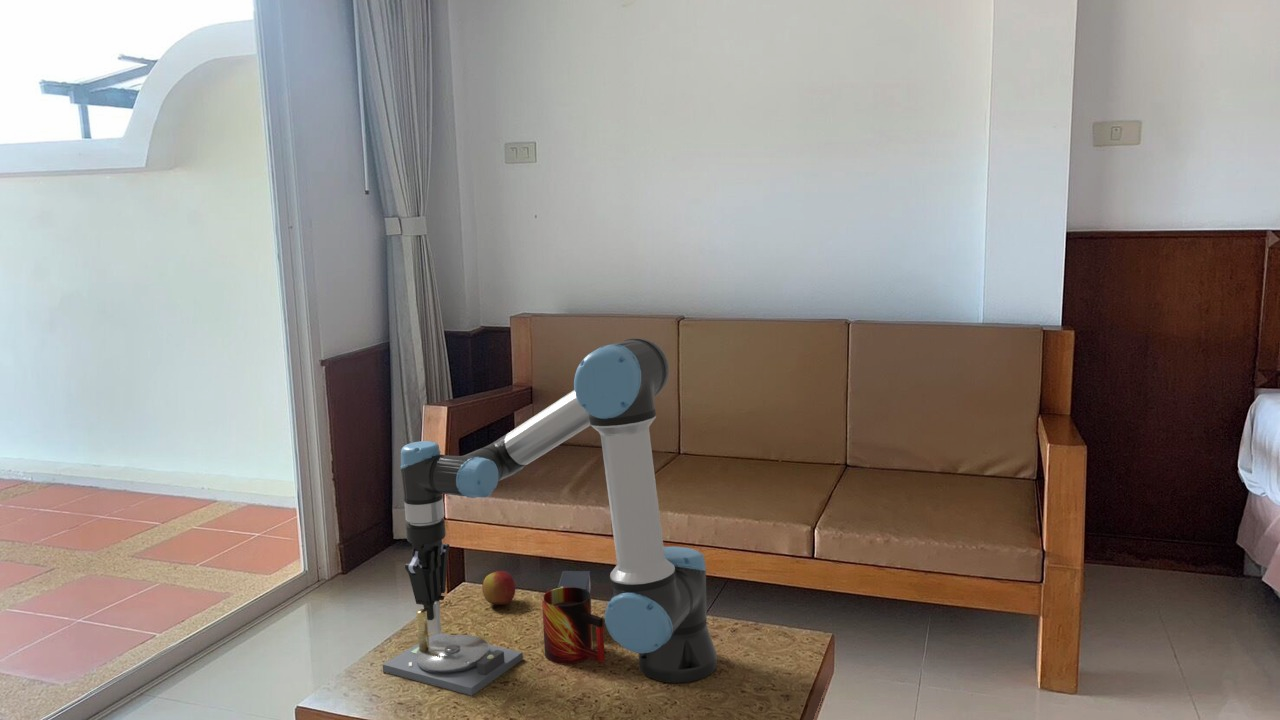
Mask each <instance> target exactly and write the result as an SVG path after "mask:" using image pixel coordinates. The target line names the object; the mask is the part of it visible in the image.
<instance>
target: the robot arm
mask: <svg viewBox="0 0 1280 720" xmlns="http://www.w3.org/2000/svg"><path fill="white" fill-rule="evenodd" d="M669 377H670V364H669V359H668V357H667V355H666V353H665V351H664V350H663V349H662V348H661V347H660V346H659V344H658V343H655V342H654V341H651V340H649V339H646V338H641V337H634V338H629V339H625V340H623V341H620V342H619V341H618V342H615V343H612V344H606V345H602V346H600V347H598V348H597V349H595V350H593V351H592V352H590V353H588V354H587V355H586V356H585V357H584V358H583V359H582V360H581V361H580V363H579V365H578V366H577V368H576V371H575V374H574V379H573V390H572V391H570V392H568V393H566V394H565V395H564V396H563V397H561V398H559V399H558V400H557V401H555V402H554V403H552V404H550V405H548V407H546V408H544V409H543V410H541V411H540V412H538V413H537V414H535V415H533V416H532V417H530V418H529V419H527V420H526V421H524V422H523V423H521V424H520V425H518V426H517V427H515V428H514V429H512V430H510V432H507V433H506V434H504V435H503V436H501V437H500V438H498V439H497V440H495V441H493V442H492V443H490V444H488V445H486V446H484V447H481V448H479V449H475V450H474V451H472V452H469V453H467V454H464V455H446V454H441V450H440V446H439V444H438V442H434V441H429V440H424V441H423V440H422V441H415V442H414V441H413V442H410V443H407V444H405V445H404V446H402V448H400V449H401V450H400V468H399V469H400V471H401V478H402V479H401V480H402V487H403V502H404V505H403V506H404V515H405V521H406V523H405V531H406V532H405V533H406V540H407V542H408V543H410V544H411V546H412V551H411V556H412V558H411V561H410V562H409V563H408V562H406V563H405V567H404V569H405V570H406V573H408V577H409V580H410V584H411V588H412V592H413V596H414V600H415V604H417V605H421V606H423V609H426V610H427V622H428V634H432V635H434V634H439V633H442V622H441V621H442V620H441V605H440V604H441V603H440V602H441V601H444V600H445V595H443V594H445V593H446V592H447V591H446V589H447V571H448V556H449V550H450V544H449V543H443V539H445V537H446V535H447V534H446V522H445V521H446V520H445V519H444V517H445V505H444V495H448V496H449V495H450V496H459V497H466V498H469V499H475V498H488V497H490V496H491V495H492V494H493V493H494V490H496V489H497V486H498V483H499V481H502V480H504V479H507V478H509V477H513V476H514V475H516V474H517V473H519V472H520V471H521V470H523V469H524V467H526V466H527V465H529V464H531V463H532V462H534V461H535V460H537V459H538V458H540V457H542V456H544V455H545V454H547V453H548V452H550V451H551V450H553V449H554V448H556V447H558V446H559V445H561V444H562V443H565V442H566V441H567V440H569V439H571V438H572V437H574V436H576V435H577V434H579V433H580V432H583V430H586V429H587V428H589V427H592V428H593V429H594V430H595V431H597V432H598V434H599V435H600V440H601V448H602V449H601V450H602V457H603V465H604V474H605V481H606V488H607V497H608V504H609V510H610V511H609V513H610V519H611V526H612V528H611V529H612V534H613V542H614V549H615V558H616V565H615V567H614V568H613V569H612V570H611V572H610V573H609V574H610V575H609V578H610V585H611V592H612V597H611V599H610V600H609V602H608V603H607V605H606V608H605V611H604V623H605V627H606V629H607V631H608V634H609V636H610V637H611V638H612V640H613V641H615V642H616V643H618V645H621V647H622V648H623V649H625V650H627V651H629V652H632V653H635V654H638V668H639V669H640V670H639V671H641V673H643V674H644V675H645V676H647V677H648V678H650V679H653V680H655V681H659V682H664V683H674V684H679V683H681V684H682V683H691V682H695V681H700V680H702V679H705V678H707V677H708V676H710V675H711V674H712V673H713V672H714V671H715V670H716V669H717V665H718V664H717V663H718V659H717V656H718V655H717V650H716V648H715V645H714V642H713V639H712V637H711V634H710V632H709V628H708V622H707V616H708V615H707V614H708V612H707V573H706V572H707V567H706V560H705V559H706V558H705V556H704V554H703V553H702V552H700V551H699V550H696V549H693V548H689V547H684V546H683V547H682V546H664V540H663V531H662V524H661V517H660V507H659V499H658V492H657V484H656V483H657V482H656V476H655V468H654V467H655V465H654V458H653V452H652V451H653V450H652V444H651V443H652V442H651V433H650V426H651V425H652V424H653V422H654V421H655V419H656V418H657V414H656V406H655V405H656V404H655V403H656V402H655V397H656V396H658V395H659V394H660V393H661V392H662V391H663V390H664V388H666V385H667V383H668V381H669Z"/></svg>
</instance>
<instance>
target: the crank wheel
mask: <svg viewBox="0 0 1280 720" xmlns="http://www.w3.org/2000/svg"><path fill="white" fill-rule="evenodd" d="M415 615H416V624H417V625H416V626H417V641H418V643H419V649H418V651H417V653H416V660H417V664H418V666H419V667H421V668H422V669H424V670H427V671H430V672H436V673H450V672H458V671H463V670H466V669H469V668H472V667H475V666H477V662H479V661H480V660H482V659H483V658H485V657H486V656H488V655H489V646H488V644H489V643H488V642H487V641H486V640H485V639H483V638H482V637H479V636H476V635H473V634H452V635H451V634H449V635H450V636H445V637H440V638H437V639H434V640H432V641H429V637H430V636H429V633H428V622H427V610H426V609H424V608H420V609H417V610H416V613H415ZM418 643H417V644H418Z"/></svg>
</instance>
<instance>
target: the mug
mask: <svg viewBox="0 0 1280 720" xmlns="http://www.w3.org/2000/svg"><path fill="white" fill-rule="evenodd" d="M541 603H542V624H543V643H544V644H543V645H544V656H545V658H546V660H548V661H549V662H551V663H553V664H559V665H573V664H576V663H577V664H578V663H581V662H584V661H585V660H587V659H592V660H594V661H596V662H598V663H603V662H605V661H606V658H605V655H606V653H605V642H604V641H605V639H604V618H603V617H601V616H597V615H595V614H592V599H591V600H590V593H589V592H588V591H587V590H585V589H582V588H576V587H563V588H558V587H557V588H554V589H550V590H548V591H547V592H545V593H543V595H542V596H541ZM593 626H595V629H596V630H595V631H596V649H594V647H593V630H592V629H593V628H592V627H593Z"/></svg>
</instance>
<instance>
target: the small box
mask: <svg viewBox="0 0 1280 720" xmlns="http://www.w3.org/2000/svg"><path fill="white" fill-rule="evenodd" d="M590 573H591V571H589V570H583V571H582V570H579V571H578V570H574V571H573V570H563V571H562V573H561V576H560V579H559V583H558V586H557V588H563V587H576V588H582V589H585V590H587V591H588V592H589V593H590V600H591V601H592V594H591V593H592V592H591V591H592V590H591V574H590Z"/></svg>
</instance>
